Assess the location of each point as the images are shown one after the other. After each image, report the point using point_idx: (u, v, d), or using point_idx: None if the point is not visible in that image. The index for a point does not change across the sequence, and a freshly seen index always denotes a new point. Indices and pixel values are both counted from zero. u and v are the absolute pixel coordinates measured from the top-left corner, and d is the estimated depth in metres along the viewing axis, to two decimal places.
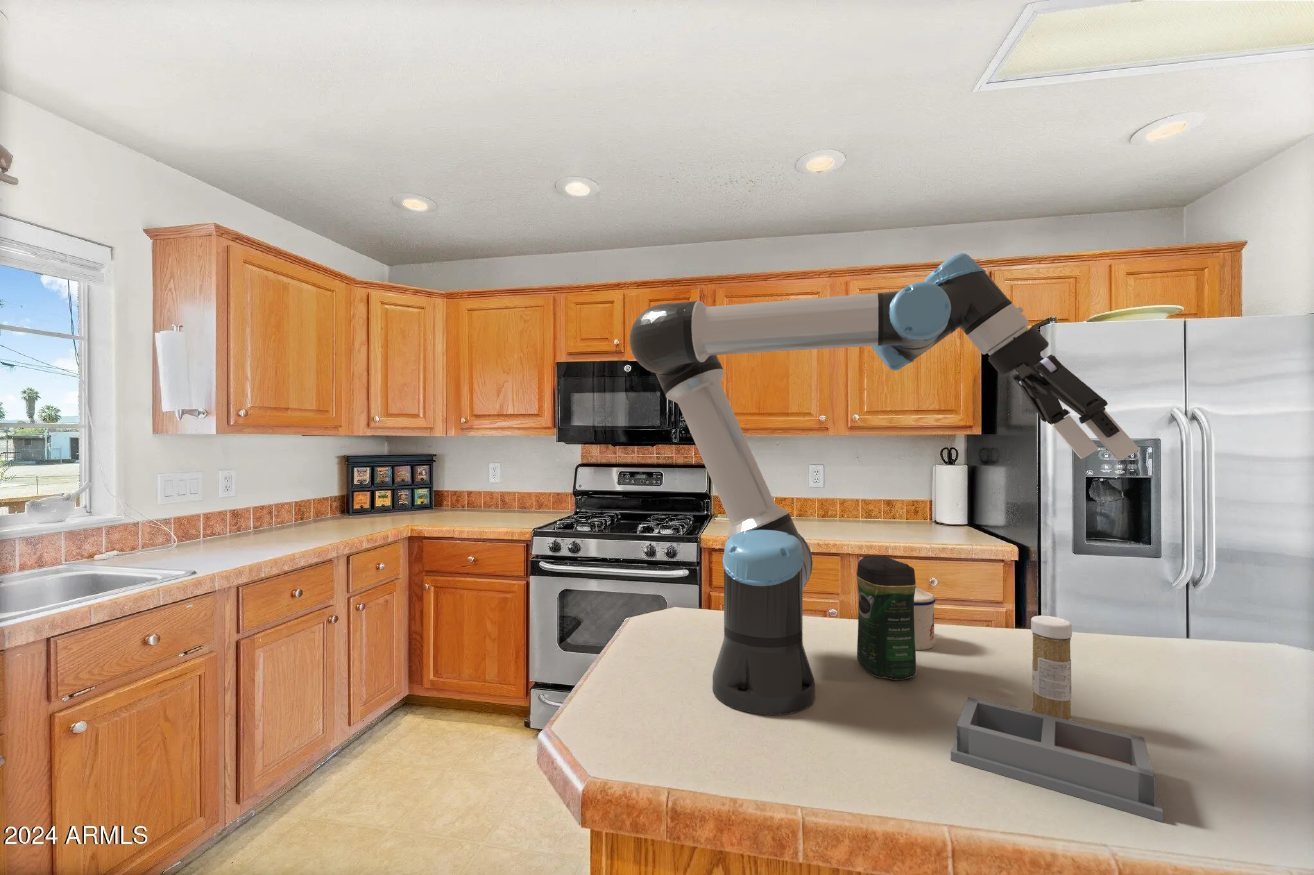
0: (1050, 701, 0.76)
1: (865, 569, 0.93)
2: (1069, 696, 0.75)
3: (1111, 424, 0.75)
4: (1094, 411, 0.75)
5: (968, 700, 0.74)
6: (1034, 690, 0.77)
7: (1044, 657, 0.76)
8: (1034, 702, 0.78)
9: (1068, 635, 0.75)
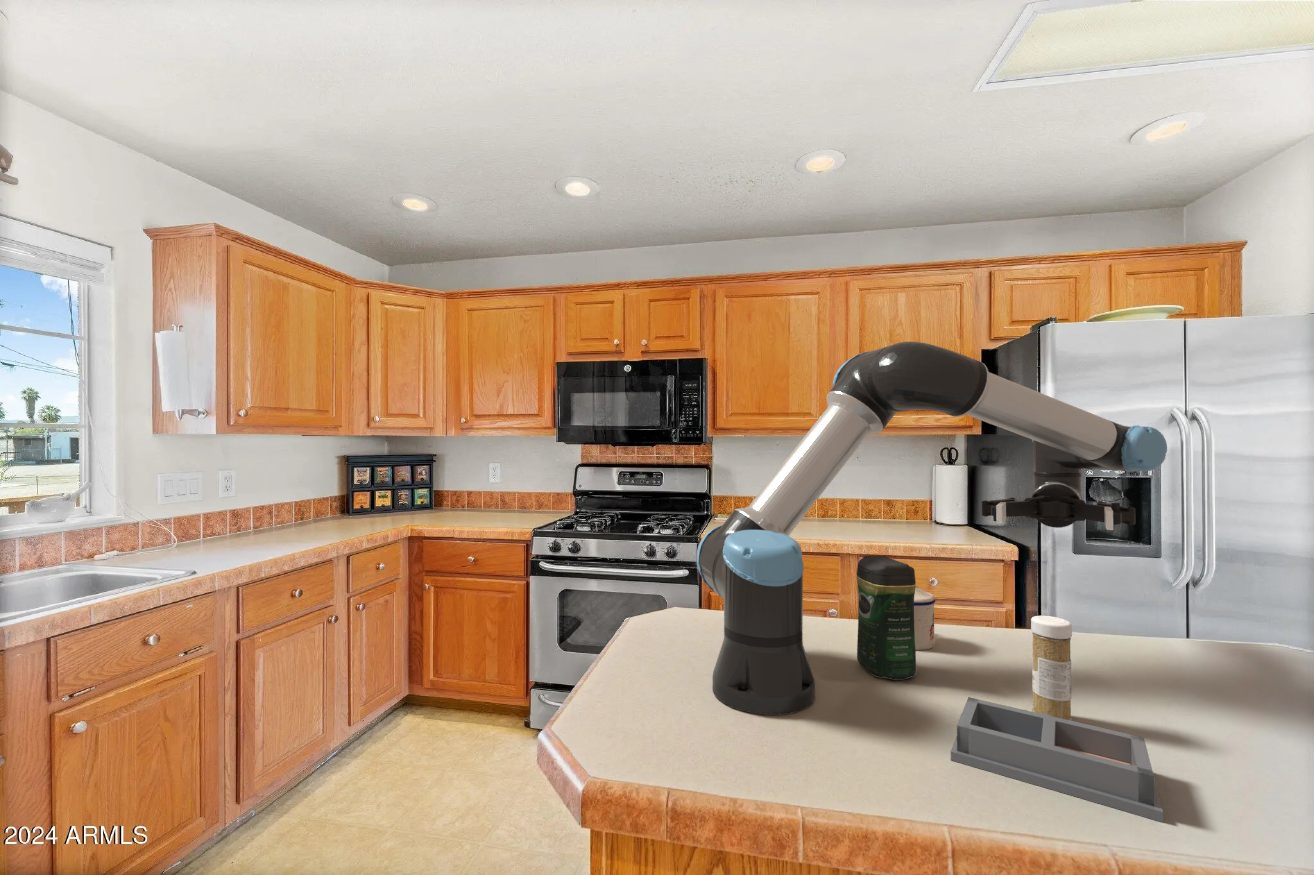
0: (1050, 701, 0.76)
1: (865, 569, 0.93)
2: (1069, 696, 0.75)
3: None
4: (1133, 513, 0.85)
5: (968, 700, 0.74)
6: (1034, 690, 0.77)
7: (1044, 657, 0.76)
8: (1034, 702, 0.78)
9: (1068, 635, 0.75)
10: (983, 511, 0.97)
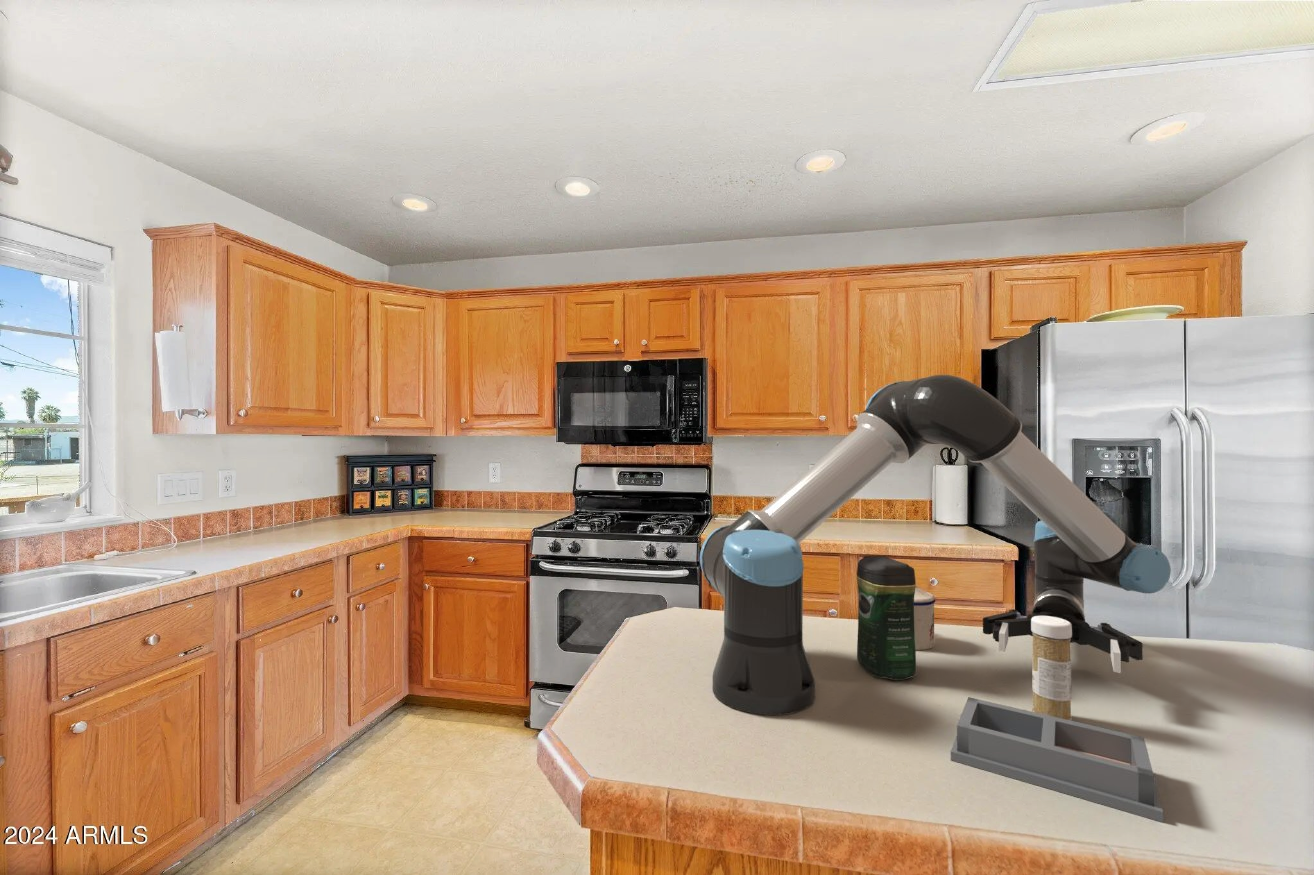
0: (1050, 701, 0.76)
1: (865, 569, 0.93)
2: (1069, 696, 0.75)
3: None
4: (1140, 648, 0.82)
5: (968, 700, 0.74)
6: (1034, 690, 0.77)
7: (1044, 657, 0.76)
8: (1034, 702, 0.78)
9: (1068, 635, 0.75)
10: (984, 629, 0.94)
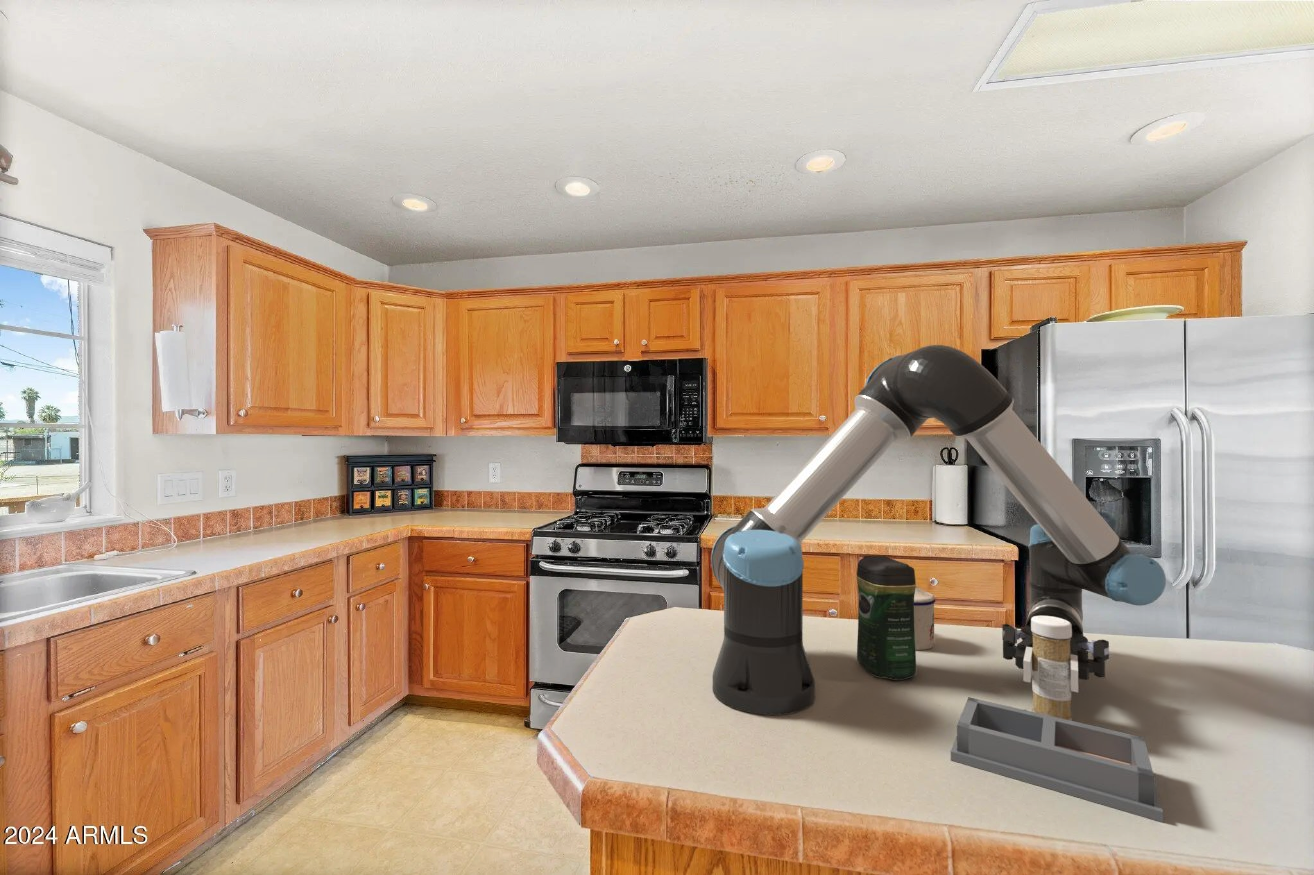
0: (1050, 701, 0.76)
1: (865, 569, 0.93)
2: (1069, 696, 0.75)
3: None
4: (1103, 664, 0.76)
5: (968, 700, 0.74)
6: (1034, 690, 0.77)
7: (1044, 657, 0.76)
8: (1034, 702, 0.78)
9: (1068, 635, 0.75)
10: (1005, 653, 0.82)
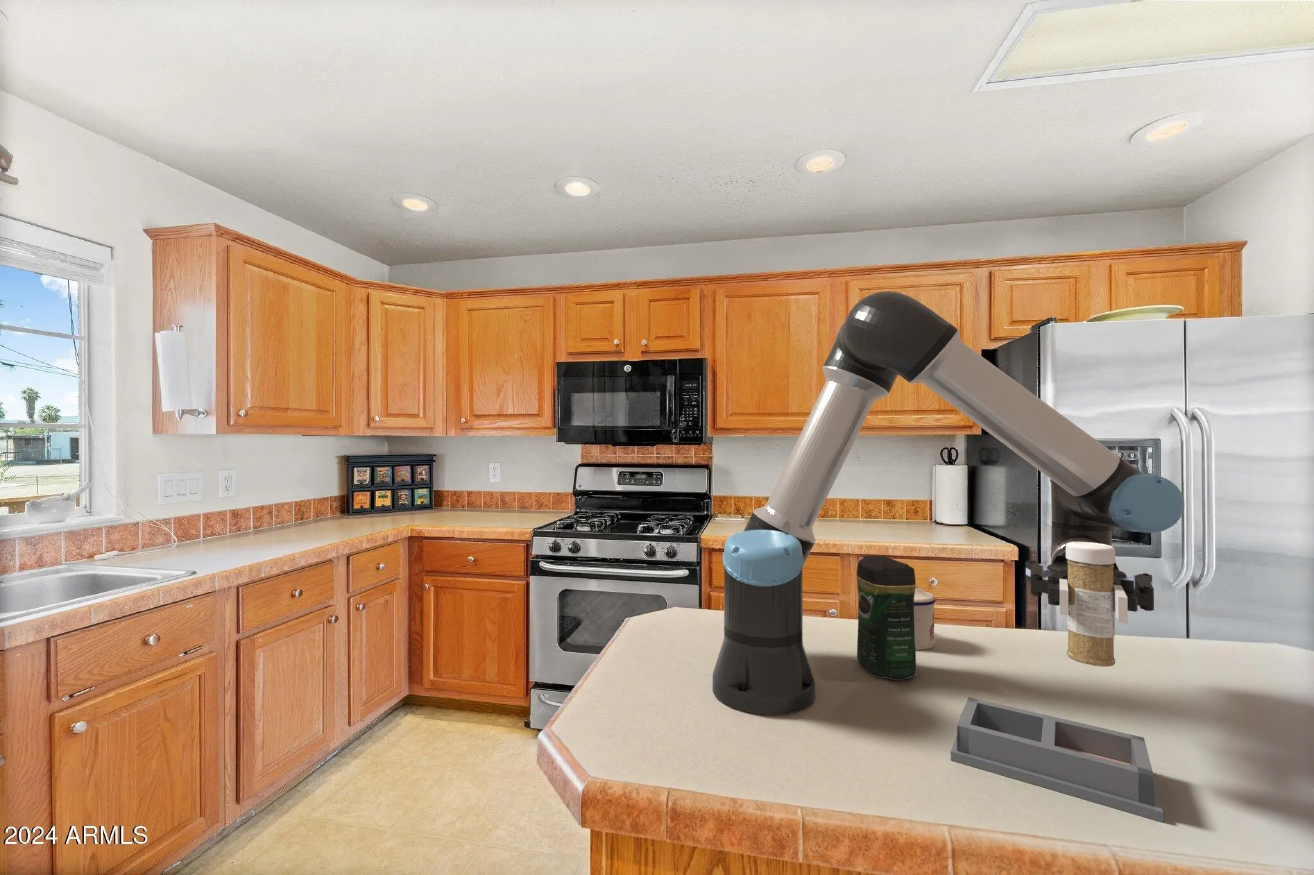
0: (1090, 639, 0.64)
1: (865, 569, 0.93)
2: (1112, 632, 0.64)
3: None
4: (1151, 595, 0.64)
5: (968, 700, 0.74)
6: (1070, 627, 0.66)
7: (1082, 587, 0.65)
8: (1070, 642, 0.66)
9: (1112, 560, 0.64)
10: (1033, 589, 0.70)
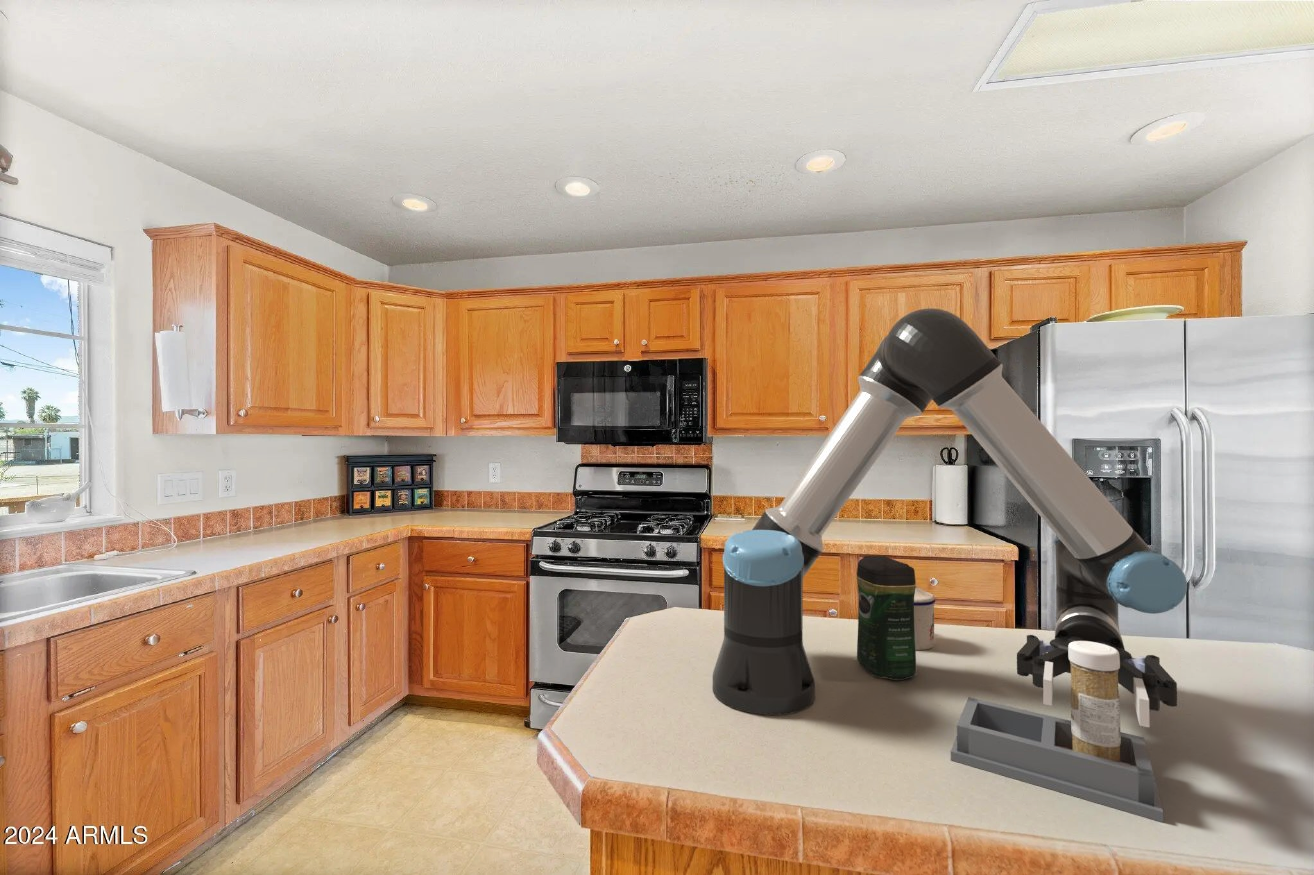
0: (1095, 747, 0.62)
1: (865, 569, 0.93)
2: (1118, 741, 0.61)
3: None
4: (1174, 690, 0.61)
5: (968, 700, 0.74)
6: (1074, 733, 0.64)
7: (1086, 692, 0.62)
8: (1074, 747, 0.64)
9: (1116, 666, 0.61)
10: (1019, 669, 0.69)
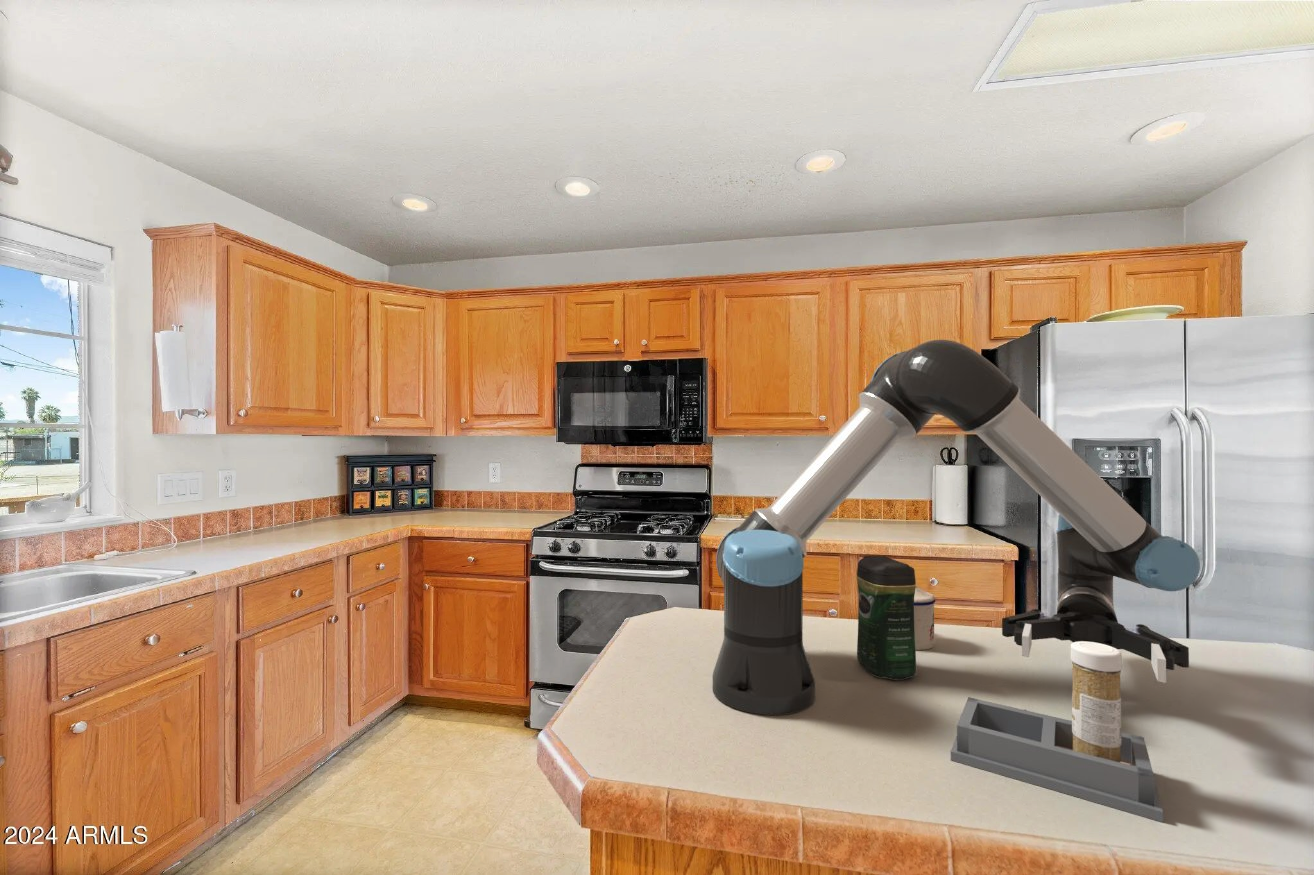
0: (1096, 748, 0.62)
1: (865, 569, 0.93)
2: (1119, 742, 0.61)
3: None
4: (1187, 653, 0.72)
5: (968, 700, 0.74)
6: (1075, 733, 0.64)
7: (1087, 693, 0.62)
8: (1075, 747, 0.64)
9: (1118, 667, 0.61)
10: (1004, 631, 0.83)
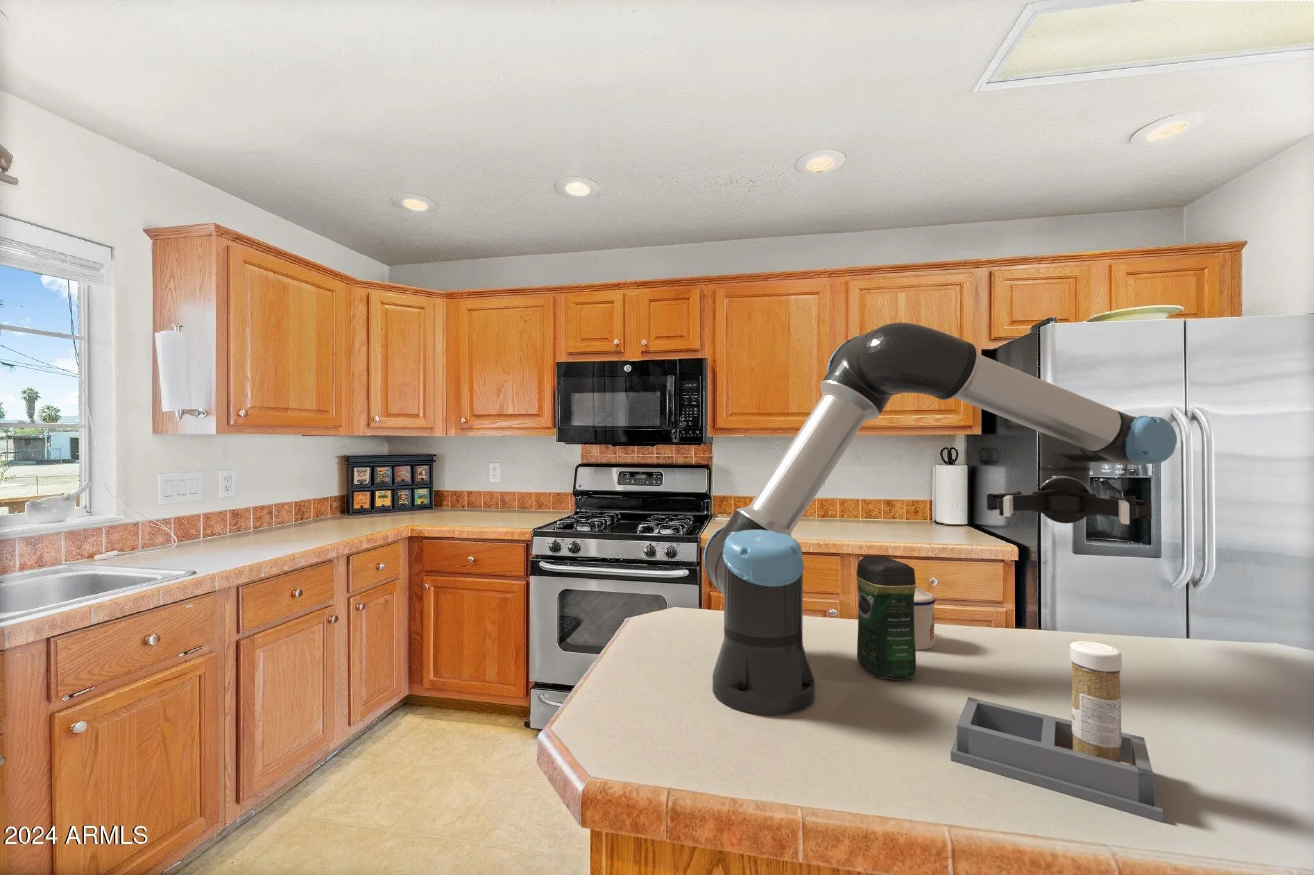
0: (1095, 748, 0.62)
1: (865, 569, 0.93)
2: (1119, 742, 0.61)
3: None
4: (1150, 507, 0.80)
5: (968, 700, 0.74)
6: (1075, 733, 0.64)
7: (1087, 693, 0.62)
8: (1074, 747, 0.64)
9: (1118, 667, 0.61)
10: (988, 505, 0.91)
